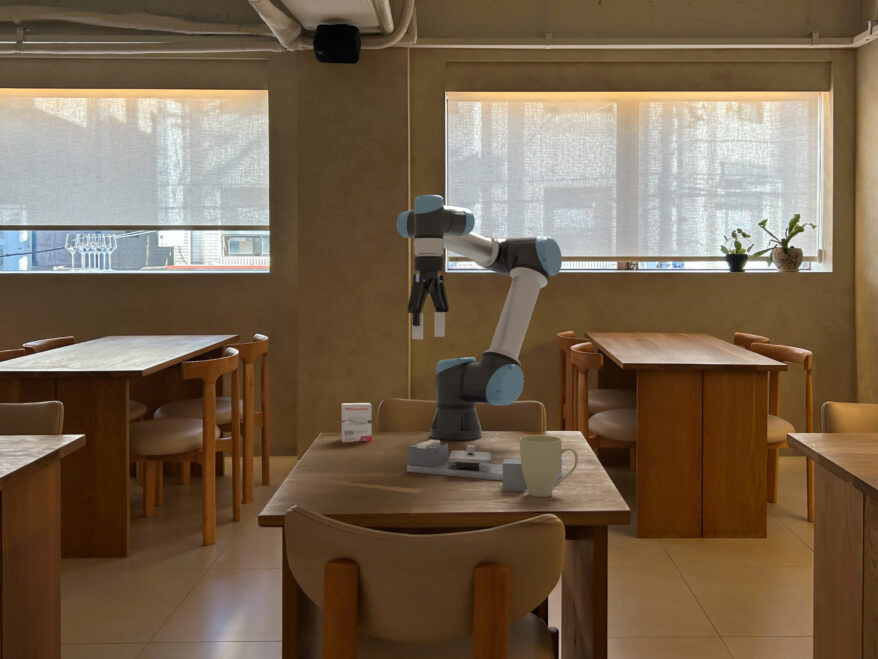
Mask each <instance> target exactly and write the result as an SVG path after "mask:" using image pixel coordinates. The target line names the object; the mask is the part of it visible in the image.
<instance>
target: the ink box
mask: <svg viewBox="0 0 878 659" xmlns="http://www.w3.org/2000/svg"><path fill="white" fill-rule="evenodd" d="M372 405H373V404H372V403H370V402H352V403H351V402H349V403H348V402H347V403H346V402H345V403H341V442H342V443H355V442H354V441H366V442H372V441H373V440H372V439H373V437H372V435H373V434H372V433H373V431H372V430H373V429H372V428H373V425H372V424H373V422H372V421H373V417H372V413H373V411H372V410H373V409H372V407H373V406H372Z"/></svg>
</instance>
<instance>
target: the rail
mask: <svg viewBox="0 0 878 659" xmlns="http://www.w3.org/2000/svg"><path fill="white" fill-rule="evenodd" d="M562 455H563V454H562ZM562 455H561V459H560V467H559V472H558V476H557V480H560V479H561V478H563V477H564V470H563V469H562V462H563V461H562V460H563V458H562ZM406 472H407V473H409V472H410V473H417V474H429V475H438V476H450V477H460V478H470V479H471V478H472V479H483V480H493V481H502V480H503V464H494V463H490V464H486V463H479V468H474V467H462V466H457V465H456V462H452V461H449V443H448V442H441V439H428V440H426V441H425V440H424V441H420V442H416V443H414V444H411V445H409V446H408V464H407V465H406Z"/></svg>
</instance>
